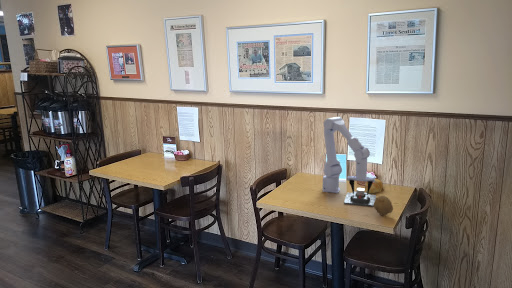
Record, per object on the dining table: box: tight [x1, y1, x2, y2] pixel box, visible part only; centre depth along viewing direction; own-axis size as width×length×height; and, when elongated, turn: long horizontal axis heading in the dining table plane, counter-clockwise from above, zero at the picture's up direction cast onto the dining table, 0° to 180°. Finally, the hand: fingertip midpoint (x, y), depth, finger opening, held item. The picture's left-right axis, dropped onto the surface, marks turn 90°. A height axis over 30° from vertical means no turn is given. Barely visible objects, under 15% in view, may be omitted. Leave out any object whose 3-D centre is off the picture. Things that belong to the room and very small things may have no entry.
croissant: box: [364, 178, 384, 195], centre depth 228 cm, size 21×10×8 cm, turn 145°
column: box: [356, 187, 366, 197], centre depth 212 cm, size 4×4×6 cm
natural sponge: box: [373, 195, 394, 216], centre depth 192 cm, size 9×9×10 cm
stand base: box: [343, 191, 377, 208], centre depth 212 cm, size 16×16×4 cm
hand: (360, 193), depth 211 cm, fingers open, 7 cm apart
